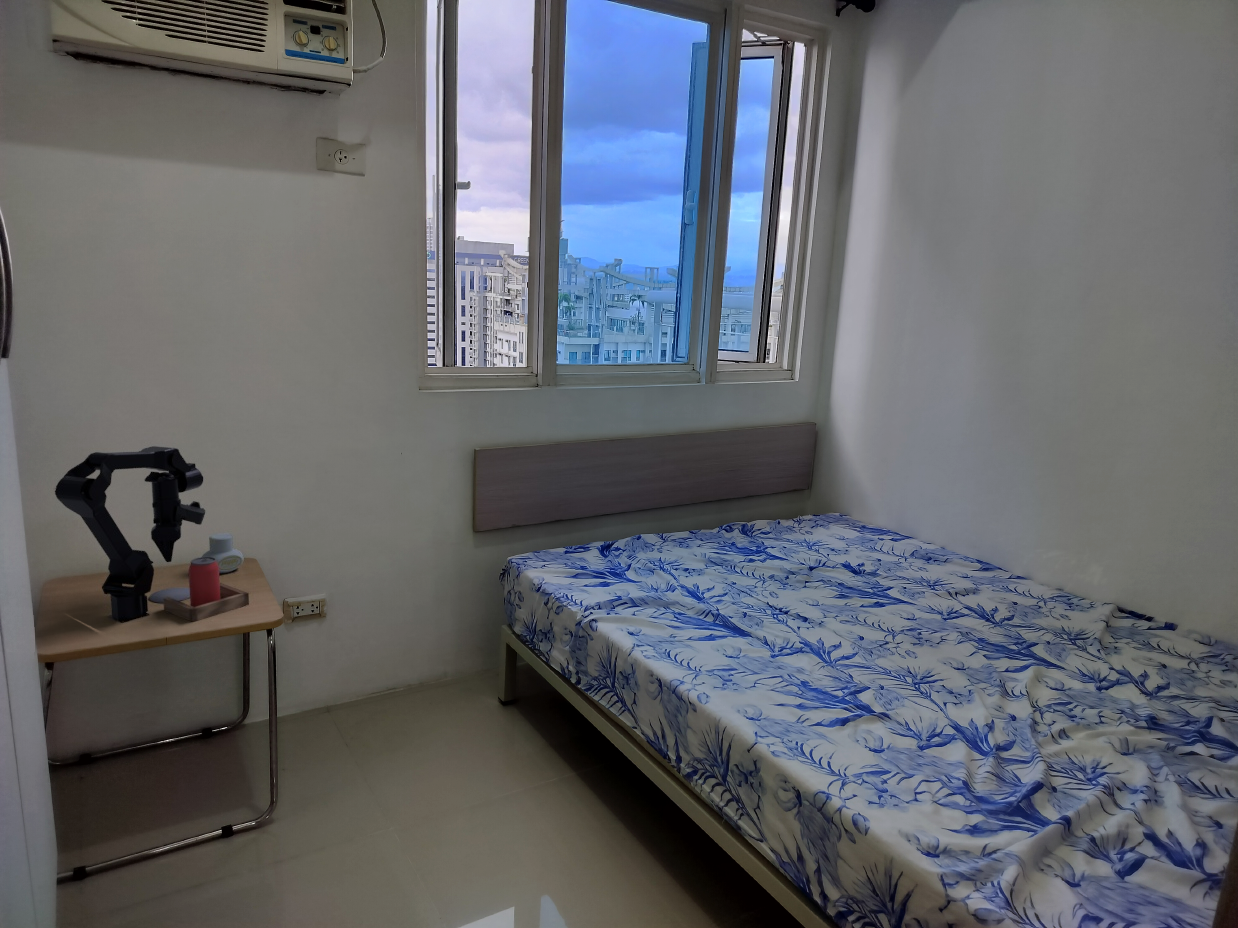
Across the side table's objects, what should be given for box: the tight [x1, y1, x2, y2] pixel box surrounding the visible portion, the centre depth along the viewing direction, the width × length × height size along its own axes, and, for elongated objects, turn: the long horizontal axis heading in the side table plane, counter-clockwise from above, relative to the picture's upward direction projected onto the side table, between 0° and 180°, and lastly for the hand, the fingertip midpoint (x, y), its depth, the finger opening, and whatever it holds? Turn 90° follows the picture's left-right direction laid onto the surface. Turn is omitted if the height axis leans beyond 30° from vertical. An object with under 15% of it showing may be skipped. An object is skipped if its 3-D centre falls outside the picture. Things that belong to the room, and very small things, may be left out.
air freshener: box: [201, 532, 245, 574], centre depth 220 cm, size 11×8×10 cm
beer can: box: [188, 556, 221, 607], centre depth 194 cm, size 7×7×12 cm
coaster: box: [149, 587, 190, 604], centre depth 200 cm, size 10×10×1 cm
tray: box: [163, 582, 250, 623], centre depth 194 cm, size 14×12×3 cm
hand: (169, 556), depth 199 cm, fingers open, 8 cm apart
